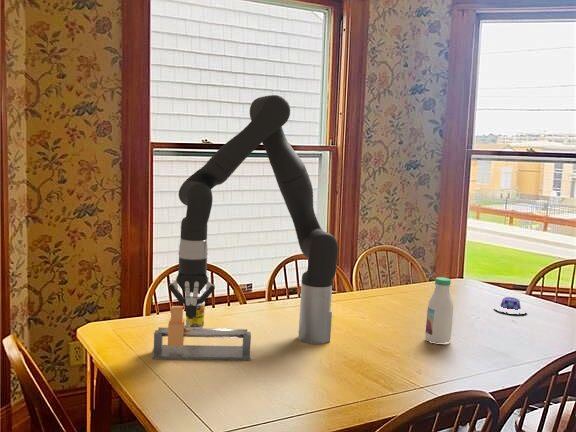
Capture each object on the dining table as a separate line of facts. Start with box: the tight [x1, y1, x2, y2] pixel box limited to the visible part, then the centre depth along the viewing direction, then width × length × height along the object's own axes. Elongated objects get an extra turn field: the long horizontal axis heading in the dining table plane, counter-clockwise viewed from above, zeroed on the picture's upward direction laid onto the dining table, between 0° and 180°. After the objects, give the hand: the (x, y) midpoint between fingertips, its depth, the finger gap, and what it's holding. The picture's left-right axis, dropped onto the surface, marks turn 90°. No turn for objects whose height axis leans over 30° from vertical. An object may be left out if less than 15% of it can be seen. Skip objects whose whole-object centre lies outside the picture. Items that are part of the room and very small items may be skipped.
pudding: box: [499, 296, 522, 310], centre depth 231 cm, size 12×12×5 cm
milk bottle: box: [424, 277, 454, 343], centre depth 190 cm, size 8×8×20 cm
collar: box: [167, 305, 186, 347], centre depth 167 cm, size 4×6×10 cm, turn 6°
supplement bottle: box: [185, 293, 206, 328], centre depth 192 cm, size 6×6×10 cm
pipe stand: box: [151, 327, 252, 361], centre depth 169 cm, size 26×9×7 cm, turn 96°
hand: (190, 318), depth 167 cm, fingers closed
